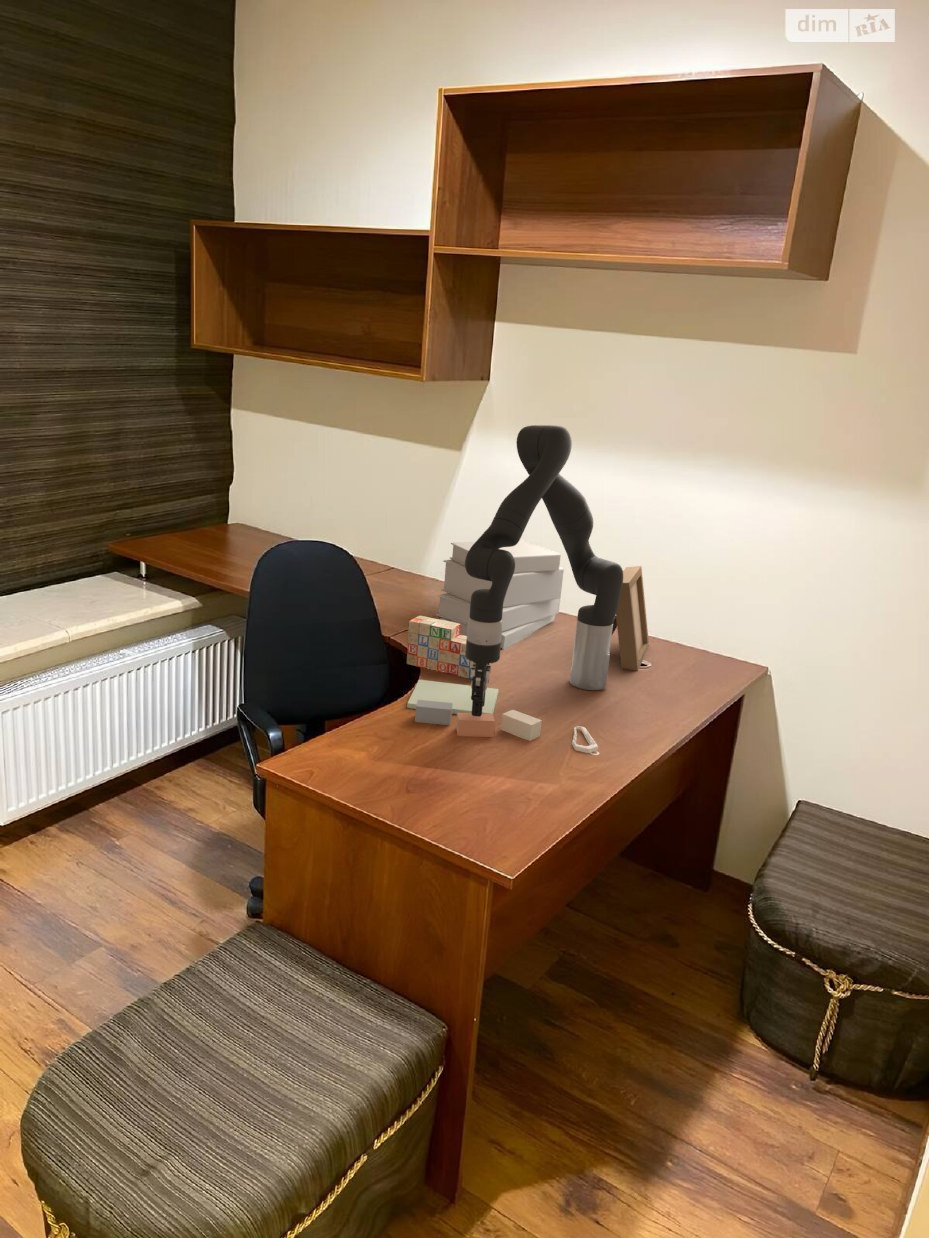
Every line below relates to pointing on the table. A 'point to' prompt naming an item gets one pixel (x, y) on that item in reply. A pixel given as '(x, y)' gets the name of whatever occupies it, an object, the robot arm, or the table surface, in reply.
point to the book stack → (526, 597)
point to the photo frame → (632, 620)
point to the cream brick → (521, 725)
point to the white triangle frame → (593, 745)
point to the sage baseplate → (451, 696)
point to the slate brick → (433, 712)
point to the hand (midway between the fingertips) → (478, 710)
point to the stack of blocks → (438, 646)
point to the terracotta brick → (475, 725)
